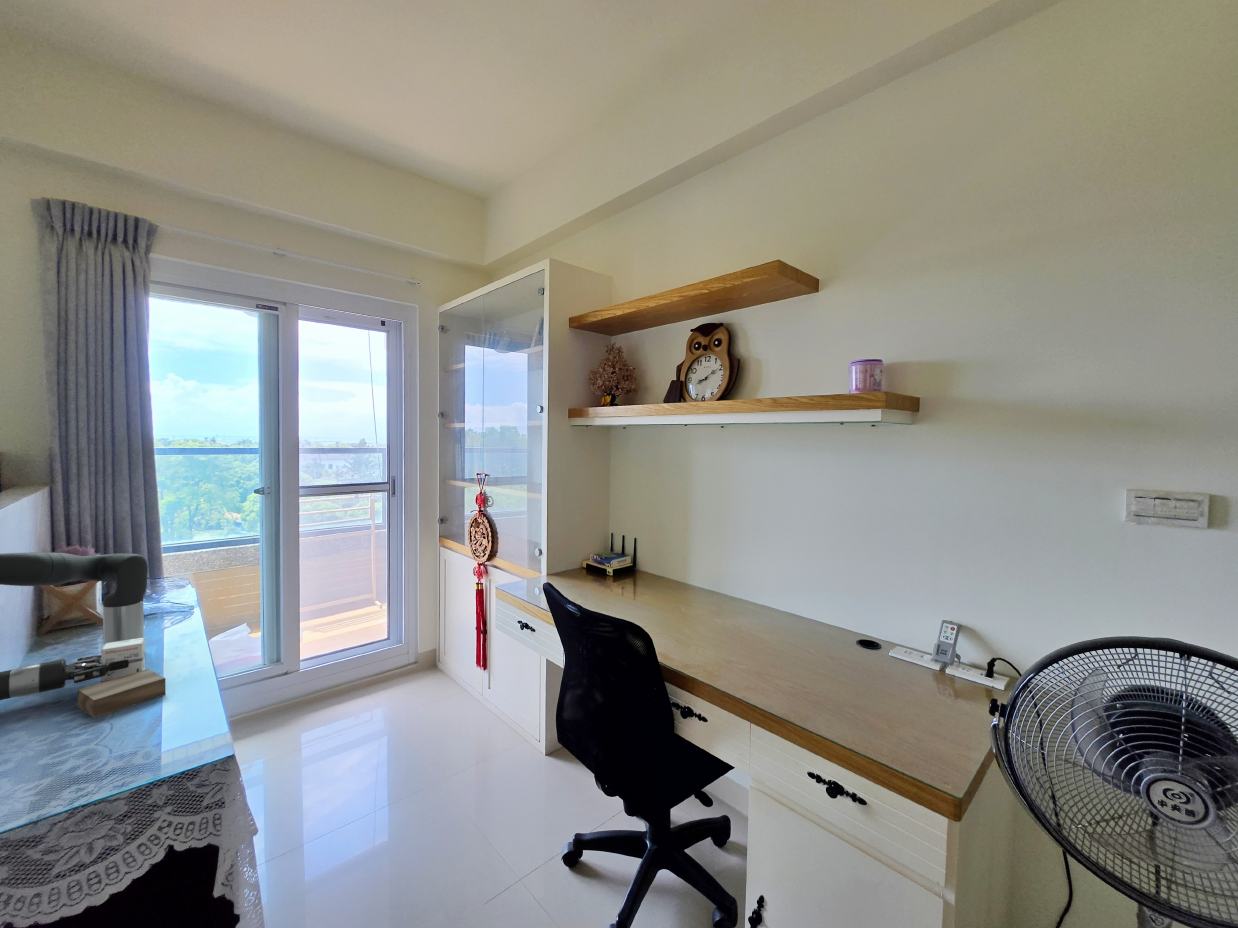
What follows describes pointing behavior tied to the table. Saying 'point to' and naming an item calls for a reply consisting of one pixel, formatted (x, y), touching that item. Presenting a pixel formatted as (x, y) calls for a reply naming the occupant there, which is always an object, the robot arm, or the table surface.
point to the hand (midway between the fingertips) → (128, 659)
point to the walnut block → (120, 693)
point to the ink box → (124, 657)
